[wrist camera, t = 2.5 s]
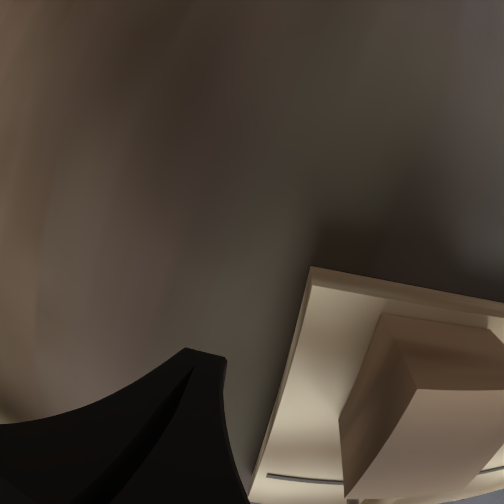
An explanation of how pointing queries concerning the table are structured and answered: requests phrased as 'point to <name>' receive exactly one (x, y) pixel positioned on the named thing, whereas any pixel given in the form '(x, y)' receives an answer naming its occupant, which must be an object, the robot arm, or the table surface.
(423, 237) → the table surface
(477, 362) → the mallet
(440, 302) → the board
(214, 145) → the table surface
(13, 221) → the table surface
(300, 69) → the table surface
